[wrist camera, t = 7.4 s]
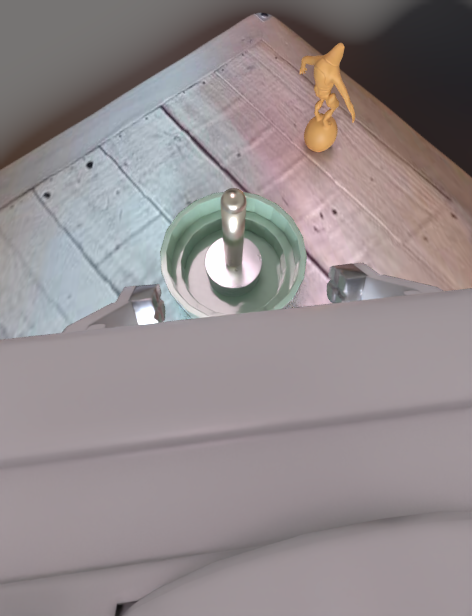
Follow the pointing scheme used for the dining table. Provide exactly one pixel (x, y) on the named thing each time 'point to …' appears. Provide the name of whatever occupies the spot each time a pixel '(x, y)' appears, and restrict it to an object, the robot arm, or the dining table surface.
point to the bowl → (208, 228)
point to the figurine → (325, 98)
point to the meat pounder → (233, 250)
